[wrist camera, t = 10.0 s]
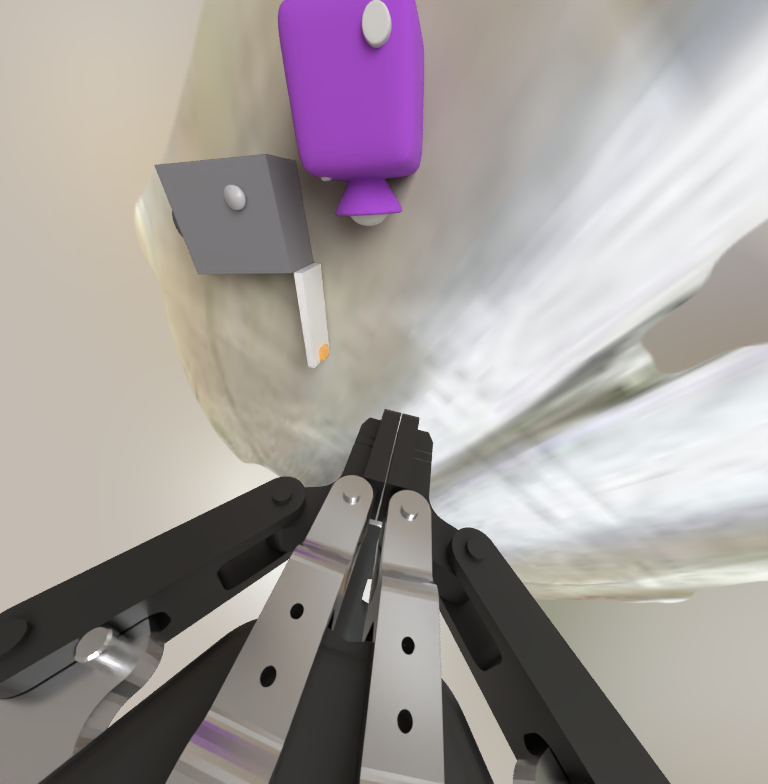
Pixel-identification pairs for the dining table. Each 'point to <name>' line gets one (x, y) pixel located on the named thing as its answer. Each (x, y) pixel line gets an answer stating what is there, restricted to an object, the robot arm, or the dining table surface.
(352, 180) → the toy camera
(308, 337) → the side door
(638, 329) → the dining table surface
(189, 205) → the camera case
